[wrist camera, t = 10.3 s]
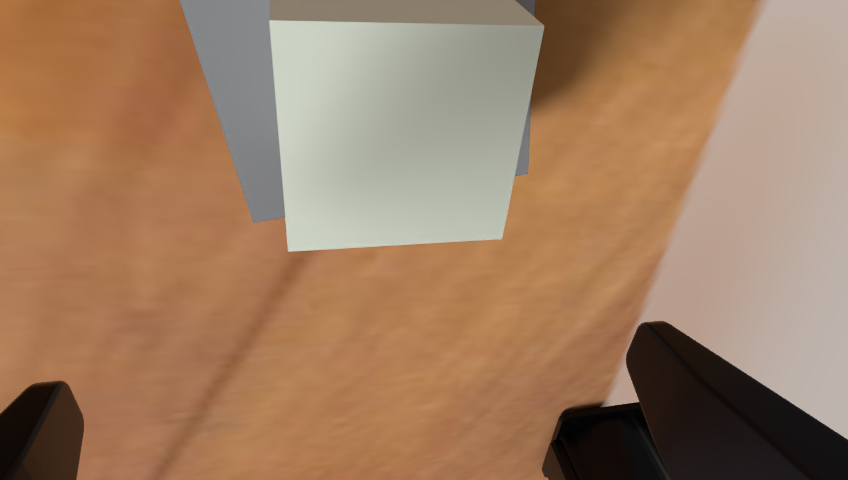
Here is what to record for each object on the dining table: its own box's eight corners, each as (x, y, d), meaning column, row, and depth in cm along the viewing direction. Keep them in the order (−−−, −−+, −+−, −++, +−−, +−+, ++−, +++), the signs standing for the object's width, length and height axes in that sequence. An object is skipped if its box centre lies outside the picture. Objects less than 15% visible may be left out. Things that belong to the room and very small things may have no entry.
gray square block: (492, -165, 16) (542, -155, 13) (492, 120, 22) (528, 173, 19) (170, -129, 15) (143, -110, 12) (257, 159, 21) (253, 222, 18)
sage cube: (474, -36, 15) (544, 26, 11) (452, 141, 18) (502, 238, 14) (271, -44, 14) (269, 20, 10) (286, 145, 17) (287, 251, 13)
